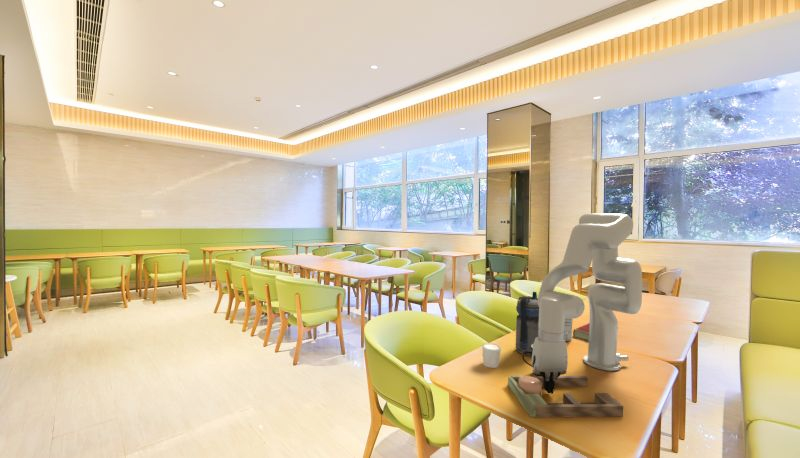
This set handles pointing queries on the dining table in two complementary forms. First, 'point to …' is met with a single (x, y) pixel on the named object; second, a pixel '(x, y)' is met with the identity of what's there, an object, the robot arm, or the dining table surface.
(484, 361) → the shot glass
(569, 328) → the supplement box
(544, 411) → the trap lane
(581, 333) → the hardcover book
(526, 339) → the beverage bottle
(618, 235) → the robot arm
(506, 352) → the dining table surface
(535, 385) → the pink rounded dome
